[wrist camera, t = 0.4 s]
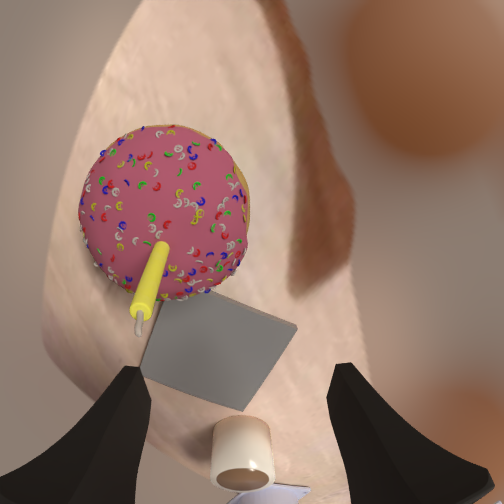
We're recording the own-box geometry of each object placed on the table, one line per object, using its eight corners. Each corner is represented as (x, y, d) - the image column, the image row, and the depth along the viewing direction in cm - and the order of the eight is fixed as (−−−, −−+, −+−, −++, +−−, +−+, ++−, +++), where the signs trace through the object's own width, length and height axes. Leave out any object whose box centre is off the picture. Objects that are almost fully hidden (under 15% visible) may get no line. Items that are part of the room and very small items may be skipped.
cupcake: (275, 220, 19) (329, 315, 7) (168, 291, 20) (103, 427, 8) (196, 105, 16) (125, 22, 5) (92, 188, 18) (-48, 233, 6)
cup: (255, 452, 25) (257, 496, 20) (205, 439, 24) (201, 485, 19) (280, 423, 24) (287, 471, 19) (226, 408, 23) (224, 459, 18)
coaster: (242, 406, 23) (242, 411, 22) (139, 369, 22) (137, 373, 21) (296, 324, 21) (297, 329, 20) (174, 274, 19) (172, 278, 19)
